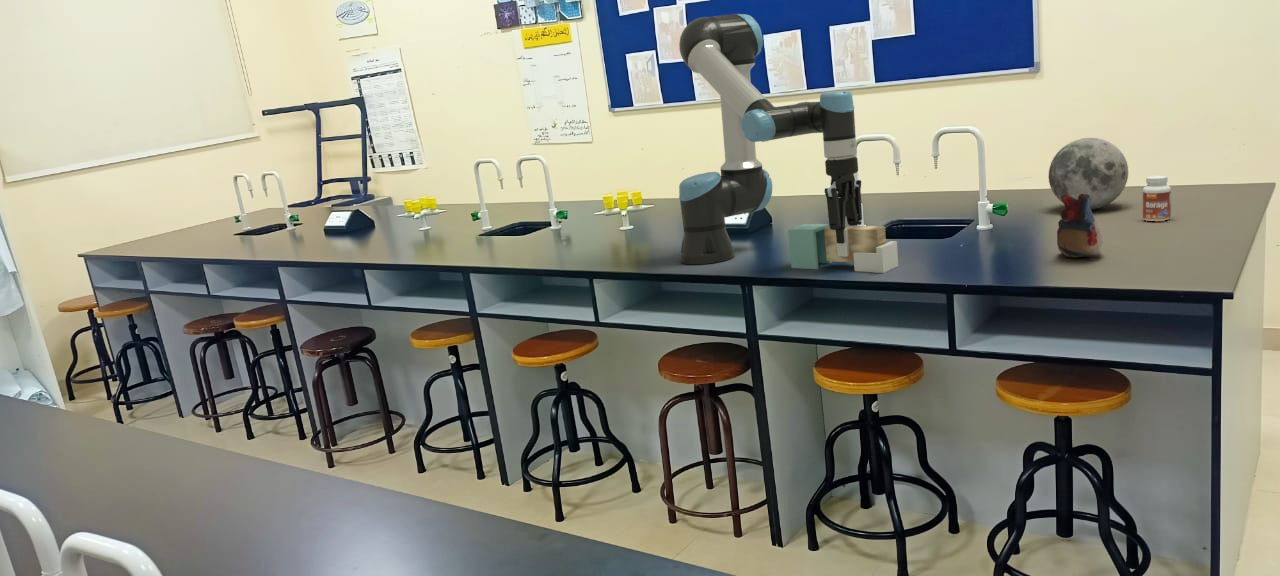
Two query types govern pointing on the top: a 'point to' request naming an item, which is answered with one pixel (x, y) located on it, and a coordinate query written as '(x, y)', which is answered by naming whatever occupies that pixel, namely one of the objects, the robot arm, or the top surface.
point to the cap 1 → (807, 246)
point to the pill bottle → (1156, 198)
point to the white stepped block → (877, 259)
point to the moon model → (1089, 171)
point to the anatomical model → (1078, 228)
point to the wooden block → (855, 241)
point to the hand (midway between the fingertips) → (848, 253)
